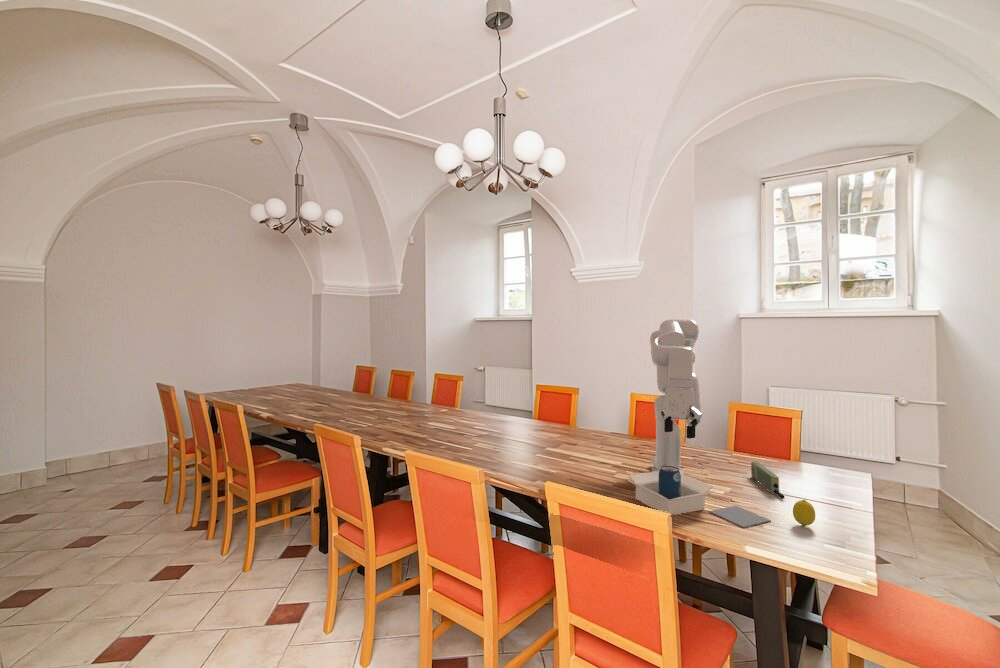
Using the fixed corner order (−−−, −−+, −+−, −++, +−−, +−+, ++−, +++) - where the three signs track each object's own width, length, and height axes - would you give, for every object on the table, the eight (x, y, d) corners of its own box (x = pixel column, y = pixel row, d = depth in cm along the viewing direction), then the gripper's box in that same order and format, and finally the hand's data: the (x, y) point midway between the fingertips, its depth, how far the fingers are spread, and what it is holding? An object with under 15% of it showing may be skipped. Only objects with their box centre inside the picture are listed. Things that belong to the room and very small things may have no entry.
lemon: (788, 522, 133) (788, 496, 132) (805, 522, 133) (805, 496, 133) (802, 531, 127) (802, 503, 127) (819, 530, 128) (820, 503, 127)
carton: (620, 496, 152) (620, 476, 152) (669, 488, 160) (669, 468, 160) (668, 523, 131) (669, 499, 131) (721, 511, 140) (722, 489, 140)
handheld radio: (759, 477, 175) (788, 501, 150) (750, 477, 175) (777, 500, 151) (759, 460, 175) (787, 481, 150) (750, 460, 175) (777, 481, 151)
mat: (709, 512, 139) (709, 511, 139) (735, 506, 144) (735, 505, 144) (743, 528, 128) (743, 526, 128) (770, 521, 133) (770, 520, 133)
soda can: (684, 507, 143) (685, 471, 143) (665, 508, 142) (665, 472, 142) (672, 499, 150) (673, 464, 150) (654, 500, 149) (654, 465, 149)
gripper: (652, 381, 153) (652, 430, 153) (692, 387, 137) (691, 441, 137) (669, 380, 156) (668, 428, 155) (709, 386, 140) (709, 439, 140)
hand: (679, 434), depth 146 cm, fingers open, 9 cm apart
